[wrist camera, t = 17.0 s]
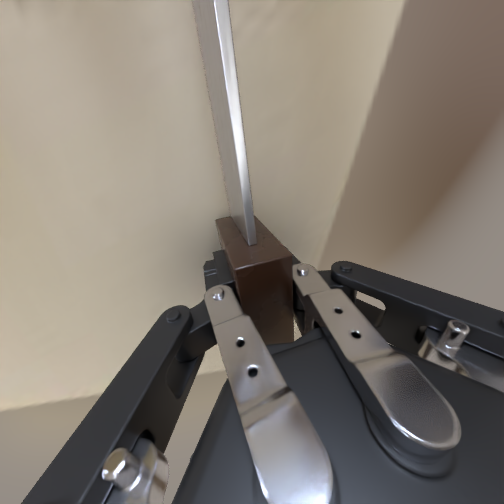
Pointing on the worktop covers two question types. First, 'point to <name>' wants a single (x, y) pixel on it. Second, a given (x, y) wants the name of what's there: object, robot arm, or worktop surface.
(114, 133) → the worktop surface
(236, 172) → the knife
